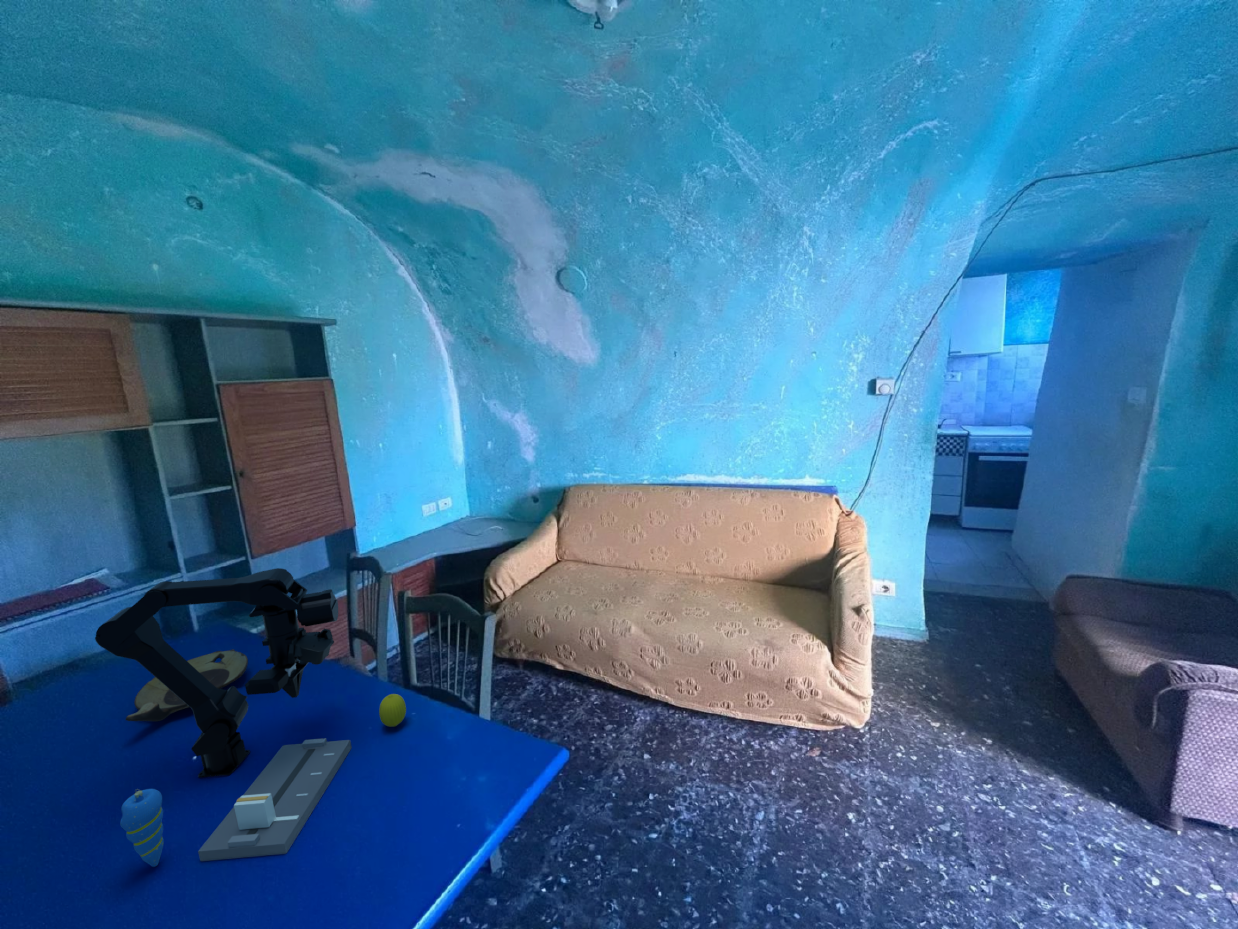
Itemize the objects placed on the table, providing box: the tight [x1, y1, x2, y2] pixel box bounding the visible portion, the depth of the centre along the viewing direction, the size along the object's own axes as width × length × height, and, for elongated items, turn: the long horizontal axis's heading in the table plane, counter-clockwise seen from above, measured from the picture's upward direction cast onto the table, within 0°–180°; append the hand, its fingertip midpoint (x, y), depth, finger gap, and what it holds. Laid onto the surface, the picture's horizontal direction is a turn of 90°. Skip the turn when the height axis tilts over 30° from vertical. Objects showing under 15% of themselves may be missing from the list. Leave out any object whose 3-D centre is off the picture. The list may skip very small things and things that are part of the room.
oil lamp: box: [124, 648, 249, 722], centre depth 127 cm, size 22×30×8 cm
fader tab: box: [233, 793, 276, 830], centre depth 88 cm, size 5×2×5 cm, turn 94°
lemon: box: [378, 693, 407, 728], centre depth 114 cm, size 6×6×8 cm
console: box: [197, 737, 352, 862], centre depth 96 cm, size 14×24×3 cm, turn 3°
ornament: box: [119, 788, 165, 868], centre depth 83 cm, size 5×5×15 cm
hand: (295, 696), depth 108 cm, fingers closed
